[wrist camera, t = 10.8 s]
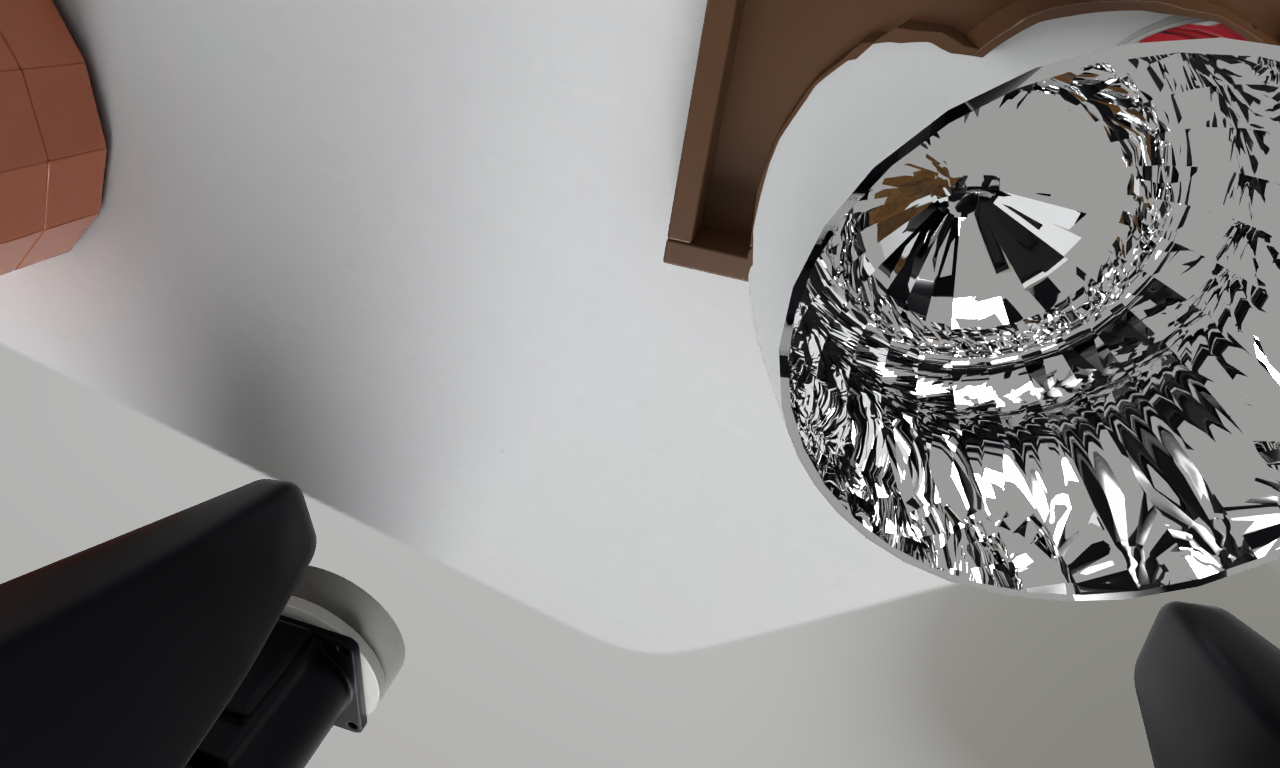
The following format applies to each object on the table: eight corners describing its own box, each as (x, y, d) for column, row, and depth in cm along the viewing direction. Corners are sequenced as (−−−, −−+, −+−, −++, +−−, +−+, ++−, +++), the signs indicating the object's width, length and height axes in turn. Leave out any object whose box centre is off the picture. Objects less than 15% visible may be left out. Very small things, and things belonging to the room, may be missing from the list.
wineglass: (770, 11, 15) (635, 71, 5) (1074, -76, 13) (1840, -259, 3) (809, 263, 18) (772, 642, 7) (1071, 220, 16) (1494, 652, 6)
